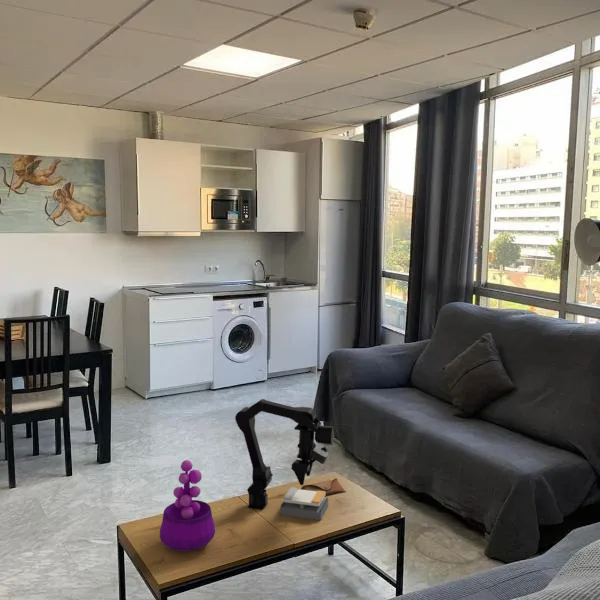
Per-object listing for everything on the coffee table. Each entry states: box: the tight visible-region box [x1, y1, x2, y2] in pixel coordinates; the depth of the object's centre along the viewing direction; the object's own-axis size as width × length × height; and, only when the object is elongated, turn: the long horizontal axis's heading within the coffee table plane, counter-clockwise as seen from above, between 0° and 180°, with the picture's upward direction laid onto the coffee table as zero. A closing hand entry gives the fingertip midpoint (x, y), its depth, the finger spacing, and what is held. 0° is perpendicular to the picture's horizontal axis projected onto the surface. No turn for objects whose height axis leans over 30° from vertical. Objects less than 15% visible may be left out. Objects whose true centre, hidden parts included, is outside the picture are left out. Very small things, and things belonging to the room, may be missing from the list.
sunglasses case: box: [301, 478, 347, 497], centre depth 252 cm, size 18×7×7 cm
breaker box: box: [279, 497, 329, 521], centre depth 234 cm, size 16×12×4 cm
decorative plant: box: [159, 459, 216, 552], centre depth 207 cm, size 19×18×30 cm
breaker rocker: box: [282, 486, 326, 506], centre depth 234 cm, size 14×11×2 cm
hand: (304, 480), depth 233 cm, fingers open, 9 cm apart
